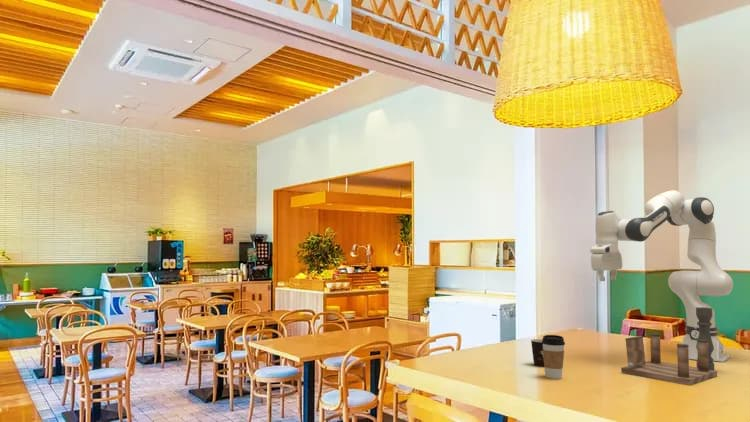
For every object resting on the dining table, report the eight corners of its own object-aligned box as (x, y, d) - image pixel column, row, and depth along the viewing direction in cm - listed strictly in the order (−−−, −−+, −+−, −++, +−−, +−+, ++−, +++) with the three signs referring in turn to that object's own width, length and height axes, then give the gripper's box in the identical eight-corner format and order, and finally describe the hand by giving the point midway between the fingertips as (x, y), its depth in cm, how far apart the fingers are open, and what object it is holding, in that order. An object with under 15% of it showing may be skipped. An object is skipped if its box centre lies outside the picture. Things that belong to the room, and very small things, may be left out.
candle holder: (717, 373, 221) (715, 309, 223) (699, 372, 223) (698, 308, 224) (711, 370, 227) (709, 307, 229) (694, 369, 229) (692, 306, 230)
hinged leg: (640, 364, 224) (637, 336, 226) (646, 364, 223) (643, 336, 224) (628, 367, 218) (625, 338, 219) (633, 368, 216) (630, 338, 218)
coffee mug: (529, 366, 229) (529, 341, 230) (532, 362, 237) (532, 338, 238) (559, 369, 225) (559, 343, 226) (561, 365, 233) (561, 340, 234)
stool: (651, 365, 235) (650, 332, 236) (717, 376, 216) (716, 340, 217) (621, 372, 219) (620, 337, 220) (689, 385, 200) (688, 346, 201)
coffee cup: (565, 375, 213) (565, 335, 214) (565, 380, 205) (564, 338, 206) (542, 373, 216) (542, 334, 217) (541, 378, 208) (541, 337, 209)
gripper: (611, 247, 253) (612, 278, 252) (588, 248, 240) (588, 281, 239) (625, 248, 248) (626, 279, 248) (602, 249, 235) (602, 282, 235)
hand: (607, 280), depth 243 cm, fingers open, 8 cm apart
